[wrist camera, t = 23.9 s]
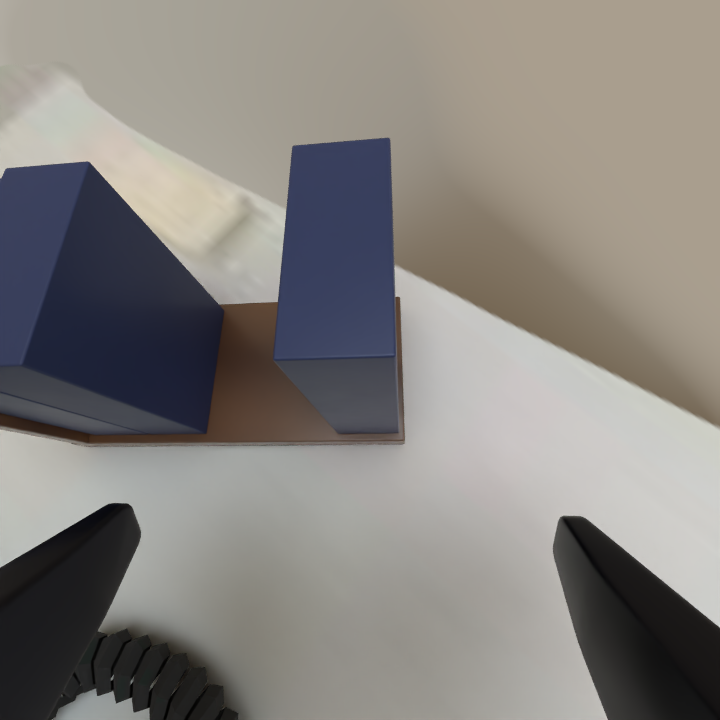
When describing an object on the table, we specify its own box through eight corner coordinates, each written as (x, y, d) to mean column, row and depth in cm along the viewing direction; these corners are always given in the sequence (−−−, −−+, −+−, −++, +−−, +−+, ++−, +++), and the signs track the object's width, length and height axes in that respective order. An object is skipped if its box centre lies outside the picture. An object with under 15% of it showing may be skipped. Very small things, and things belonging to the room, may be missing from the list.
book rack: (404, 444, 21) (407, 382, 10) (86, 446, 23) (-183, 396, 12) (400, 305, 24) (398, 150, 13) (118, 317, 26) (-76, 188, 15)
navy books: (207, 434, 21) (20, 365, 11) (95, 435, 22) (-182, 371, 11) (224, 310, 24) (89, 160, 13) (124, 314, 24) (-79, 174, 14)
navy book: (399, 433, 20) (396, 356, 10) (337, 434, 20) (271, 360, 10) (395, 304, 23) (389, 136, 12) (340, 306, 23) (291, 144, 13)
